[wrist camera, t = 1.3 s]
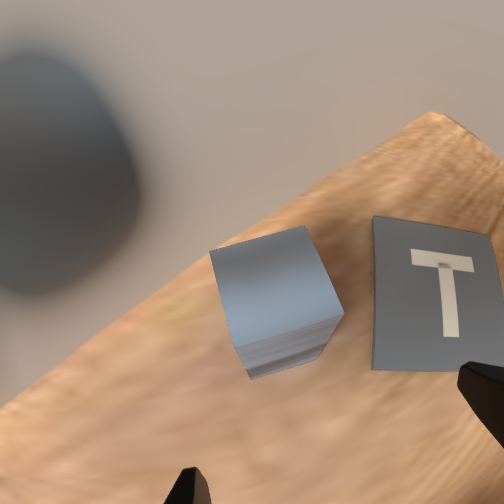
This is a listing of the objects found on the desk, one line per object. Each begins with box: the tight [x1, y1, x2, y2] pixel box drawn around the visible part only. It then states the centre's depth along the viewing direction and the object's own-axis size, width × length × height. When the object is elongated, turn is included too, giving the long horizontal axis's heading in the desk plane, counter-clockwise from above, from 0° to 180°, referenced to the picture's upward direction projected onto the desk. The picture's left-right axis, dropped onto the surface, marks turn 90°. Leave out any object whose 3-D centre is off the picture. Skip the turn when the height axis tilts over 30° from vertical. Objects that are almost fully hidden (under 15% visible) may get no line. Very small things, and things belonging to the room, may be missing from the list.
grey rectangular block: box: [209, 225, 344, 380], centre depth 18 cm, size 5×5×10 cm
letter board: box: [371, 216, 504, 371], centre depth 23 cm, size 14×14×1 cm
